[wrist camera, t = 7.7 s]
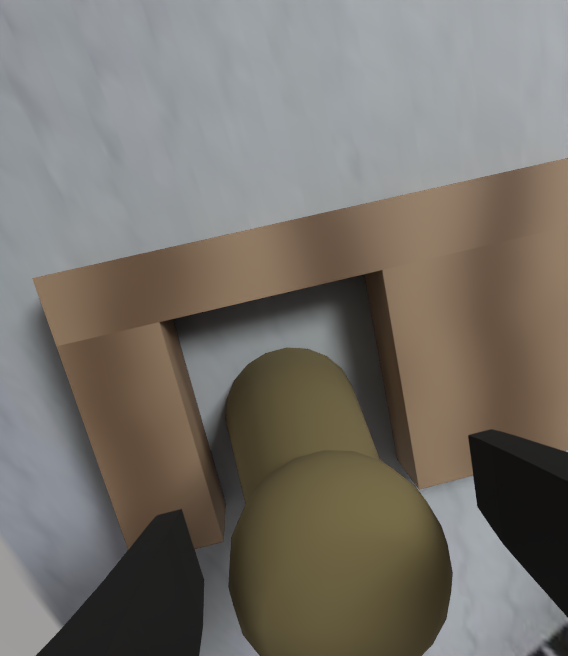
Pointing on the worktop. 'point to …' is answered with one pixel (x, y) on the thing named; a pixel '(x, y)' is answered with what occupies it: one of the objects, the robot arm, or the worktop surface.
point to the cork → (326, 522)
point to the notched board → (388, 319)
